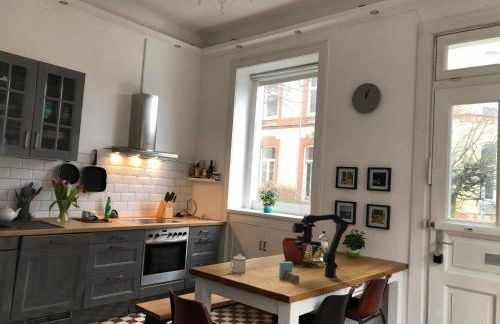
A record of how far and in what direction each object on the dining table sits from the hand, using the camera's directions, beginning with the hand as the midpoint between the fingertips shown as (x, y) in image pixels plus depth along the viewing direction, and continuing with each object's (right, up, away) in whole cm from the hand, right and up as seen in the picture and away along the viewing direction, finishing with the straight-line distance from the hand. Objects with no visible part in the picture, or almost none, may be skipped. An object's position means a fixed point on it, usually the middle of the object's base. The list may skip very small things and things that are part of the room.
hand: (306, 256), depth 268 cm
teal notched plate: (-15, -12, -9) cm, 21 cm away
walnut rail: (-13, -12, -14) cm, 22 cm away
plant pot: (-3, -16, +49) cm, 51 cm away
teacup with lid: (-47, -11, +1) cm, 48 cm away
